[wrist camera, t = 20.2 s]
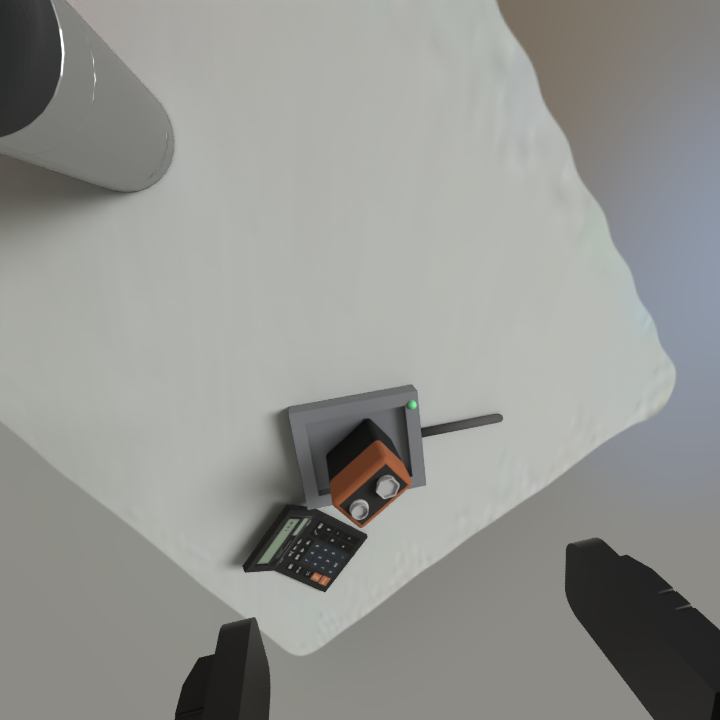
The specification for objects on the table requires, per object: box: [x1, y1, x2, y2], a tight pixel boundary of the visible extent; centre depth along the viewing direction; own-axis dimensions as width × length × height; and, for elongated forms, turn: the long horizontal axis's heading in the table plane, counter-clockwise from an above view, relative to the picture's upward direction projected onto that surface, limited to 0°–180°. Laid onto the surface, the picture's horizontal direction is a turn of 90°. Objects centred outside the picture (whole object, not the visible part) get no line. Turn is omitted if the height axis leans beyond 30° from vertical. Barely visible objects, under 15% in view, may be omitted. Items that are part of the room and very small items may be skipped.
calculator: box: [243, 505, 367, 592], centre depth 47 cm, size 9×12×3 cm
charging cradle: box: [288, 385, 503, 510], centre depth 45 cm, size 24×12×3 cm, turn 98°
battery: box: [326, 418, 412, 528], centre depth 40 cm, size 4×7×10 cm, turn 132°
